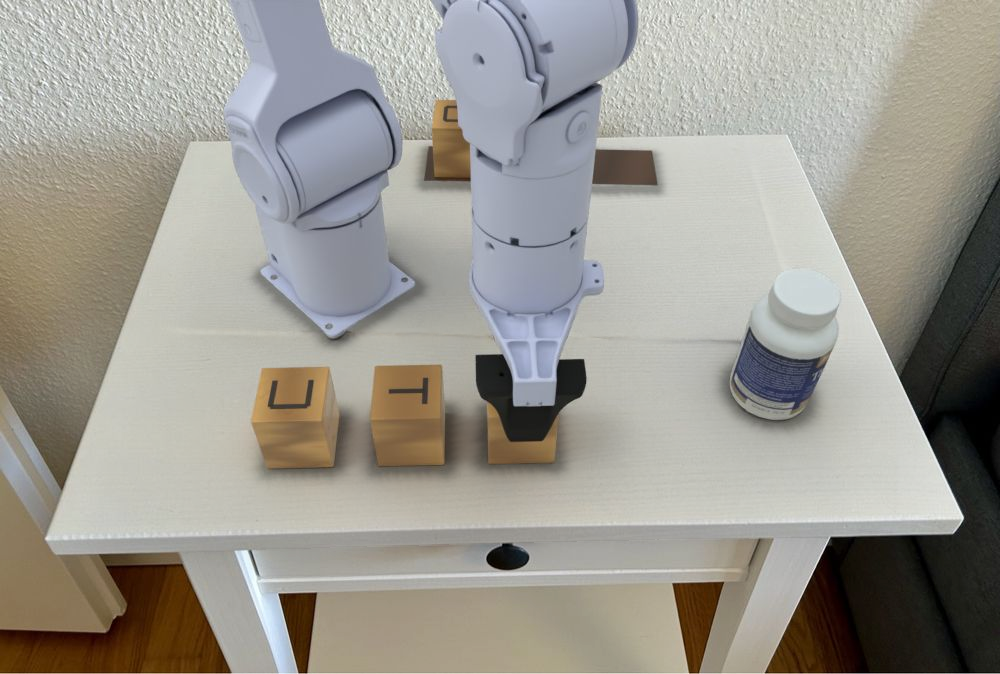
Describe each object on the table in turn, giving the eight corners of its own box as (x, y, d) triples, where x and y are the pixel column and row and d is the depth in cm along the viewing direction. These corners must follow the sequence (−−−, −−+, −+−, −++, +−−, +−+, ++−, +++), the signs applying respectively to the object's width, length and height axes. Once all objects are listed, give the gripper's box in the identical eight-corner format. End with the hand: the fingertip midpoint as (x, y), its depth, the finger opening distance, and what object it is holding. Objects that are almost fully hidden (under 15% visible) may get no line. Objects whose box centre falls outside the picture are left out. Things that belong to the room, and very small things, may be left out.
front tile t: (378, 466, 54) (369, 419, 50) (382, 413, 56) (374, 364, 53) (444, 465, 54) (440, 418, 50) (445, 412, 57) (442, 363, 53)
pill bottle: (809, 429, 56) (857, 329, 49) (727, 415, 57) (762, 315, 49) (806, 367, 59) (850, 266, 52) (728, 355, 60) (761, 254, 53)
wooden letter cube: (488, 464, 54) (488, 417, 50) (487, 411, 57) (486, 362, 53) (554, 462, 54) (558, 415, 50) (549, 410, 57) (553, 361, 53)
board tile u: (434, 177, 73) (431, 127, 69) (438, 148, 75) (435, 98, 72) (483, 178, 72) (483, 128, 69) (485, 149, 75) (484, 99, 72)
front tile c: (267, 469, 53) (250, 421, 50) (276, 415, 56) (261, 366, 52) (333, 467, 54) (322, 420, 50) (340, 414, 56) (329, 365, 53)
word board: (424, 185, 73) (423, 180, 72) (428, 151, 76) (428, 145, 76) (656, 190, 73) (658, 185, 72) (651, 155, 76) (652, 150, 75)
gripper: (632, 315, 36) (602, 486, 46) (596, 122, 46) (577, 298, 56) (468, 318, 36) (473, 489, 46) (466, 123, 46) (471, 300, 56)
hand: (522, 384), depth 51 cm, fingers open, 7 cm apart
